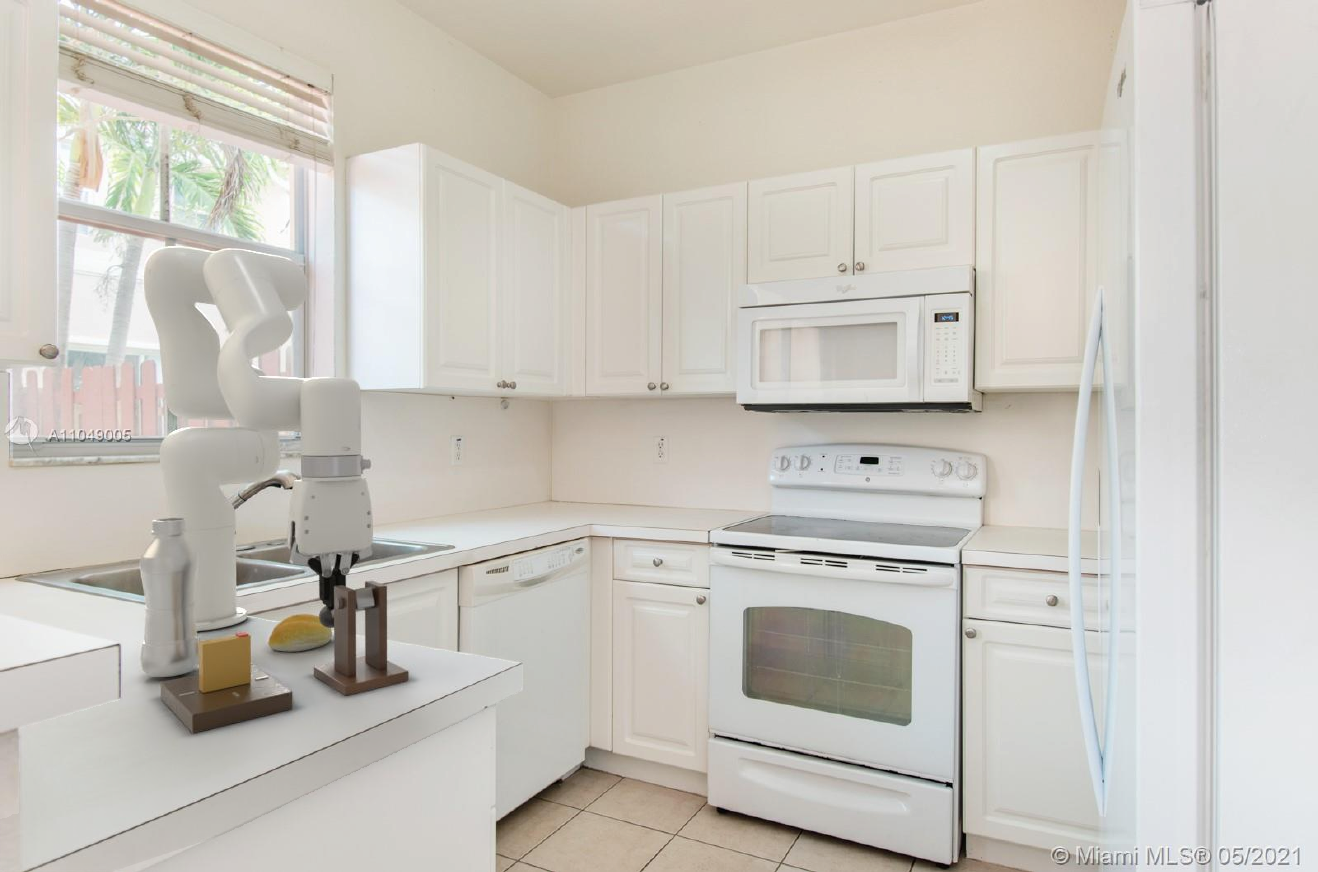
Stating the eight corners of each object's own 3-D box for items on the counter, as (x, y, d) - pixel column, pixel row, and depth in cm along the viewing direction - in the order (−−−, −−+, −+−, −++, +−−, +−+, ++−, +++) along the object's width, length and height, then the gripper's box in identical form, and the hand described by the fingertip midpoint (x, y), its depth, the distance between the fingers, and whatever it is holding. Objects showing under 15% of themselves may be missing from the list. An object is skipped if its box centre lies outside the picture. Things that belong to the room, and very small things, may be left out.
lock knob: (202, 693, 87) (202, 642, 87) (199, 689, 88) (198, 639, 88) (251, 682, 90) (250, 633, 90) (246, 679, 91) (246, 631, 91)
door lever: (317, 631, 104) (313, 608, 105) (340, 627, 106) (337, 604, 107) (354, 612, 96) (350, 586, 96) (379, 607, 98) (375, 583, 99)
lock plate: (160, 698, 91) (160, 680, 91) (252, 679, 98) (252, 662, 98) (192, 733, 81) (192, 712, 81) (292, 708, 88) (292, 689, 88)
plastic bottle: (173, 685, 95) (171, 523, 95) (127, 681, 97) (125, 522, 96) (213, 668, 102) (212, 517, 101) (169, 665, 103) (168, 515, 103)
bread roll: (266, 655, 107) (266, 627, 107) (274, 638, 116) (273, 612, 116) (330, 649, 110) (330, 621, 110) (333, 633, 119) (333, 607, 119)
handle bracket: (313, 675, 99) (313, 584, 99) (374, 662, 105) (374, 575, 104) (345, 695, 92) (345, 597, 92) (408, 680, 97) (408, 587, 97)
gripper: (373, 465, 112) (374, 591, 112) (262, 470, 102) (264, 609, 102) (396, 467, 107) (397, 600, 107) (282, 472, 96) (284, 619, 97)
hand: (332, 604), depth 104 cm, fingers closed
